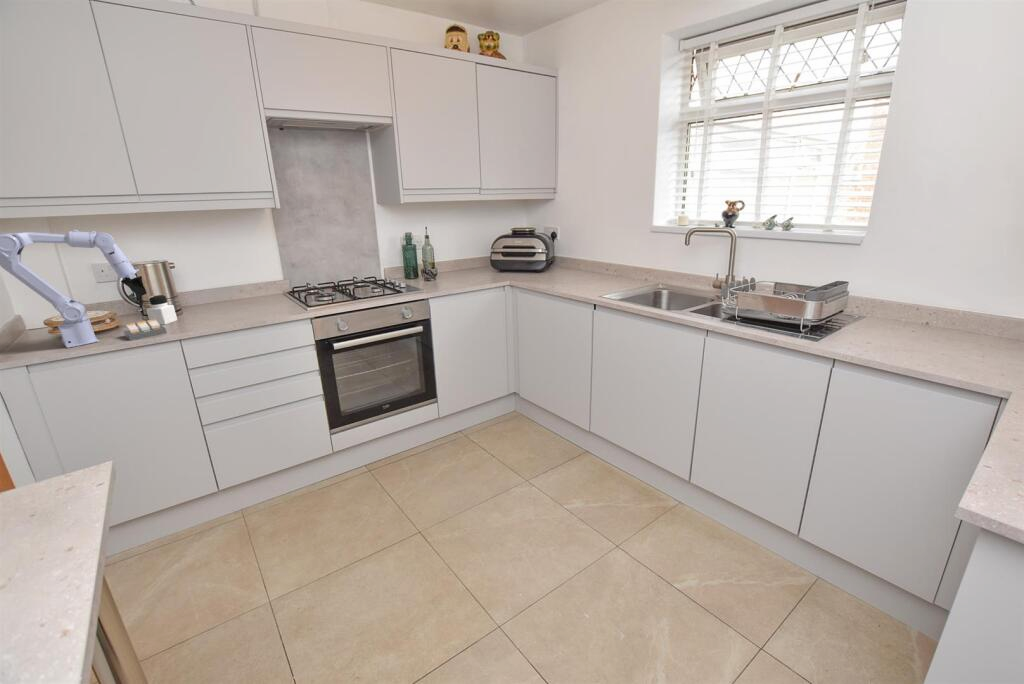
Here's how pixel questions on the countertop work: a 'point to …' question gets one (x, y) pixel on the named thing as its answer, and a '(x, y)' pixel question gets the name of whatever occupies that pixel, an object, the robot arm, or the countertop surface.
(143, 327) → the rocker
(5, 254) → the robot arm
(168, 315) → the medicine bottle
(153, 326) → the rocker
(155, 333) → the console
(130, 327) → the rocker
